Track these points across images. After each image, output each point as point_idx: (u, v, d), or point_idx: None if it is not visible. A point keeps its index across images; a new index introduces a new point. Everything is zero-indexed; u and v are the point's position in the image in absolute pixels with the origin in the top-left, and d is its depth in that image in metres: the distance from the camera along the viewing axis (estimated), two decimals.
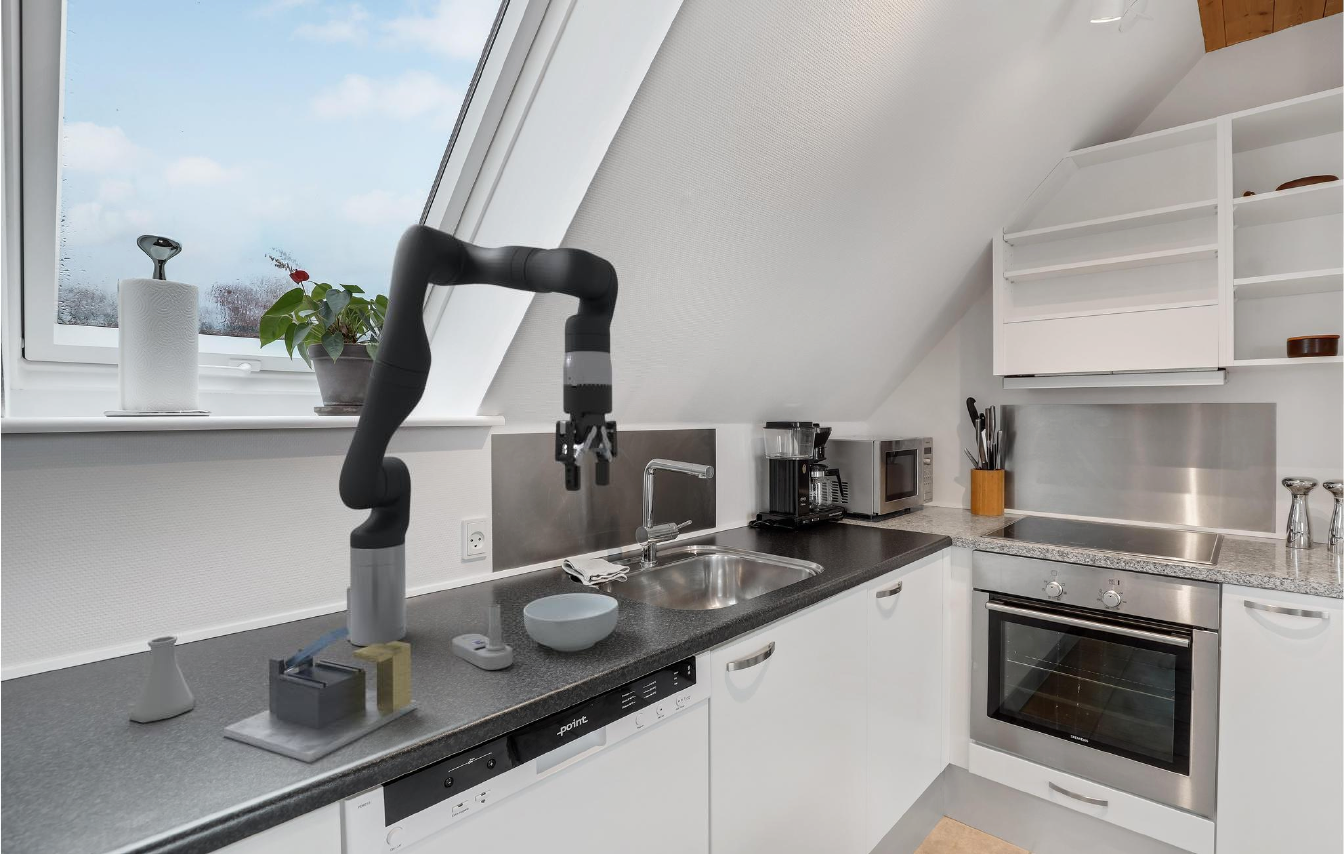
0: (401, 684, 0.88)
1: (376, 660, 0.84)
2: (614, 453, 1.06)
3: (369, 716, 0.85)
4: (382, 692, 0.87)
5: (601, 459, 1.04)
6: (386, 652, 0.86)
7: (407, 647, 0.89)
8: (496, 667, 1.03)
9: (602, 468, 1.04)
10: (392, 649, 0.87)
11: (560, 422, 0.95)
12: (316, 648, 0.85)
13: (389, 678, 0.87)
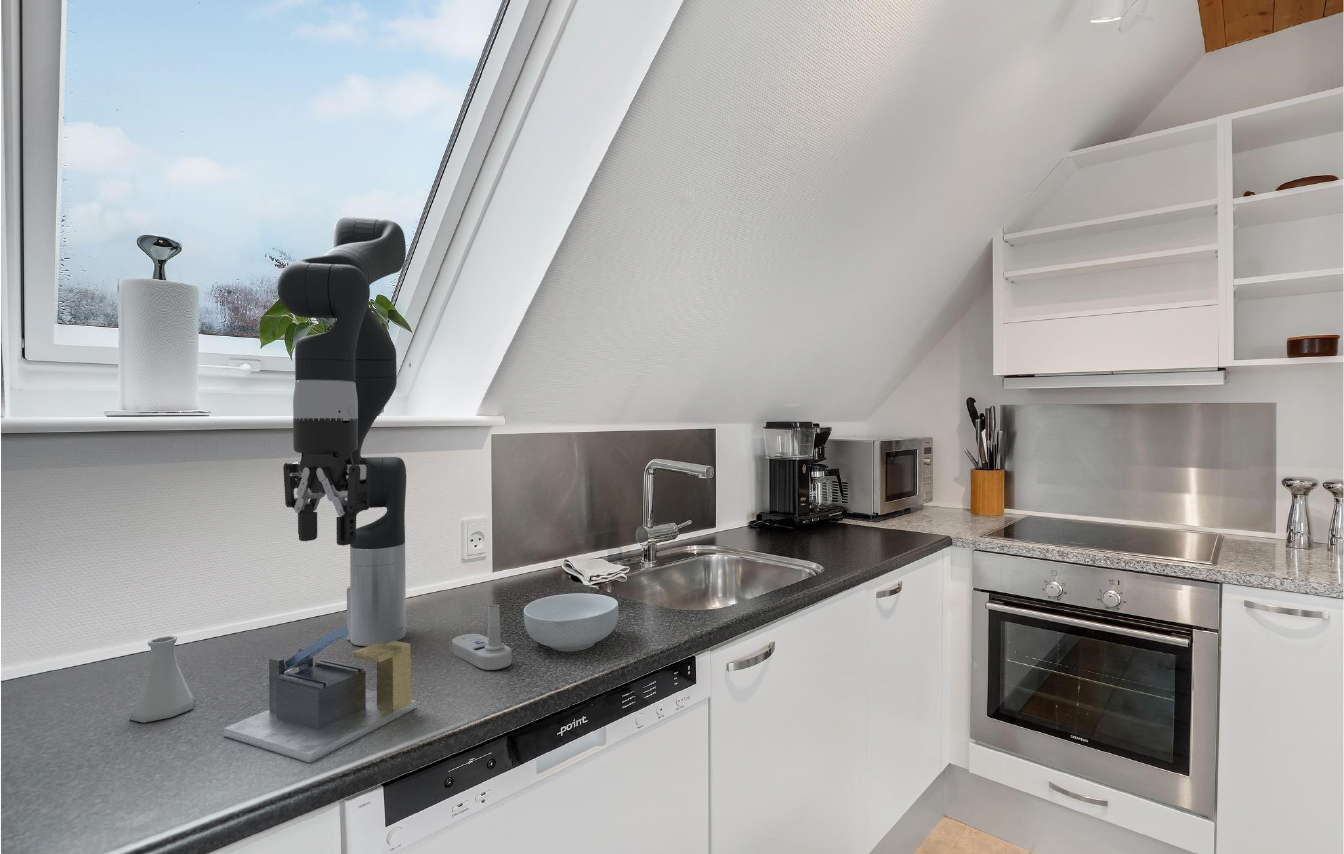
0: (401, 684, 0.88)
1: (376, 660, 0.84)
2: None
3: (369, 716, 0.85)
4: (382, 692, 0.87)
5: (308, 509, 0.87)
6: (386, 652, 0.86)
7: (407, 647, 0.89)
8: (495, 667, 1.03)
9: (311, 519, 0.87)
10: (392, 649, 0.87)
11: (359, 467, 0.82)
12: (316, 648, 0.85)
13: (389, 678, 0.87)
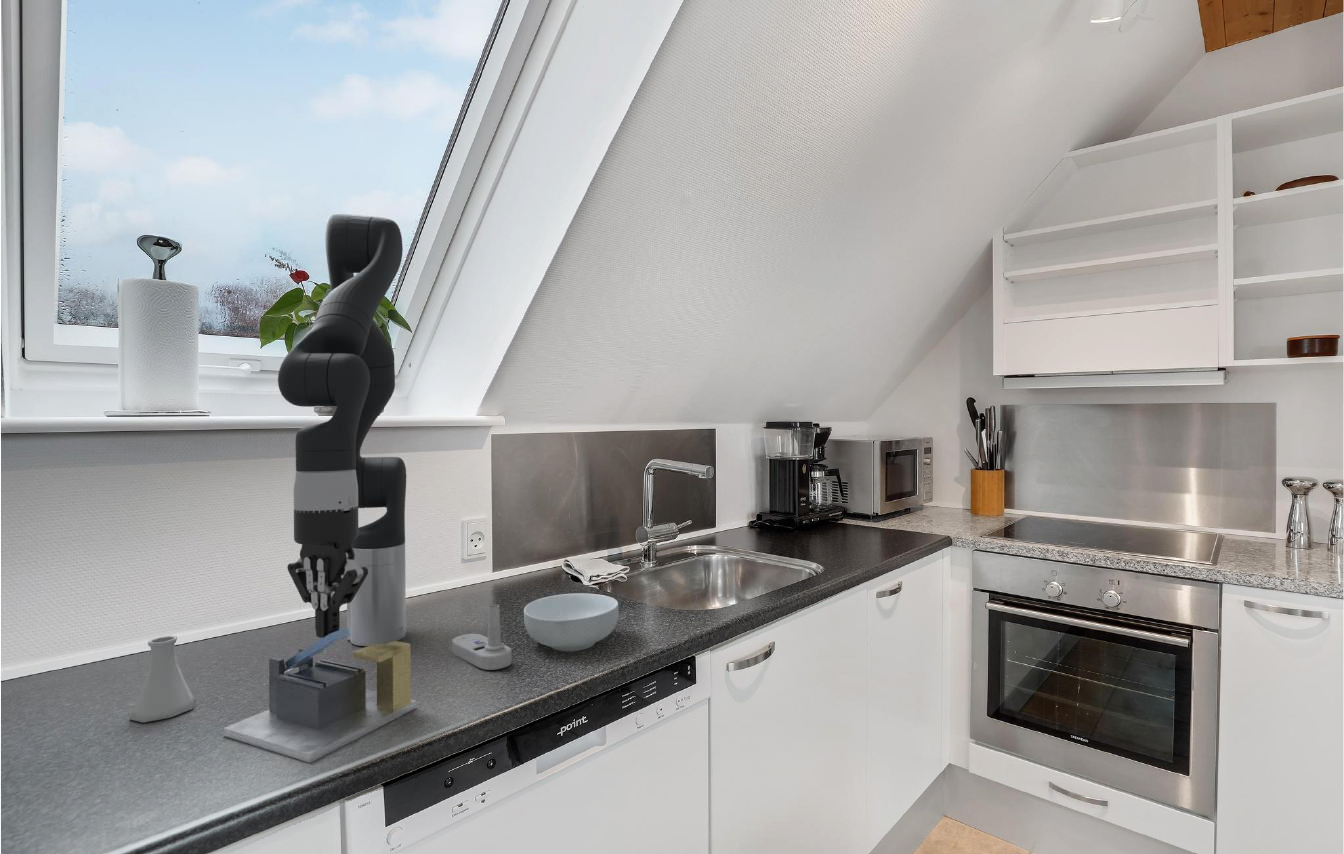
0: (401, 684, 0.88)
1: (376, 660, 0.84)
2: None
3: (369, 716, 0.85)
4: (382, 692, 0.87)
5: None
6: (386, 652, 0.86)
7: (407, 647, 0.89)
8: (495, 667, 1.03)
9: None
10: (392, 649, 0.87)
11: (356, 575, 0.83)
12: (316, 649, 0.85)
13: (389, 678, 0.87)
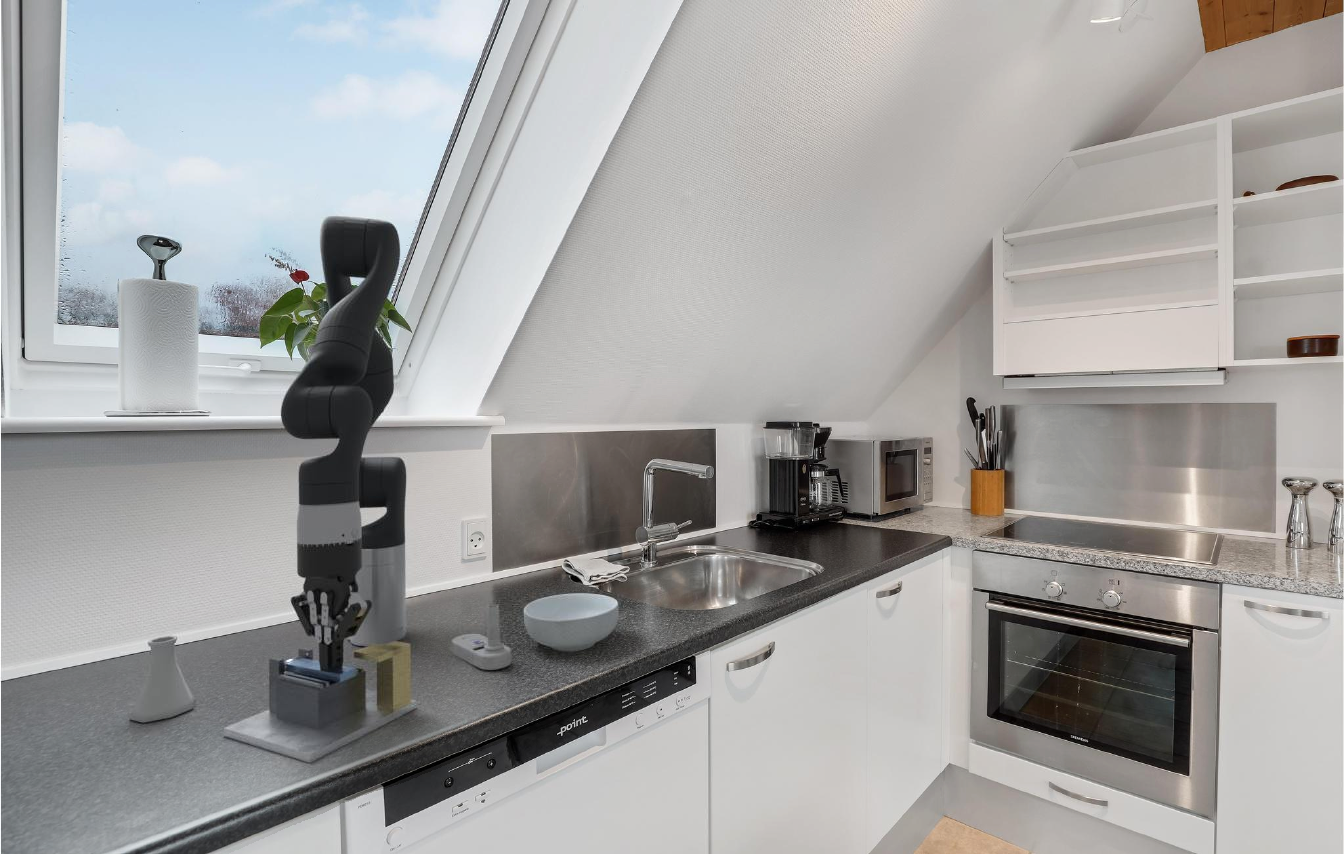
0: (401, 684, 0.88)
1: (376, 660, 0.84)
2: None
3: (369, 716, 0.85)
4: (382, 692, 0.87)
5: None
6: (386, 652, 0.86)
7: (407, 647, 0.89)
8: (494, 667, 1.03)
9: None
10: (392, 649, 0.87)
11: (360, 608, 0.82)
12: (321, 677, 0.84)
13: (389, 678, 0.87)
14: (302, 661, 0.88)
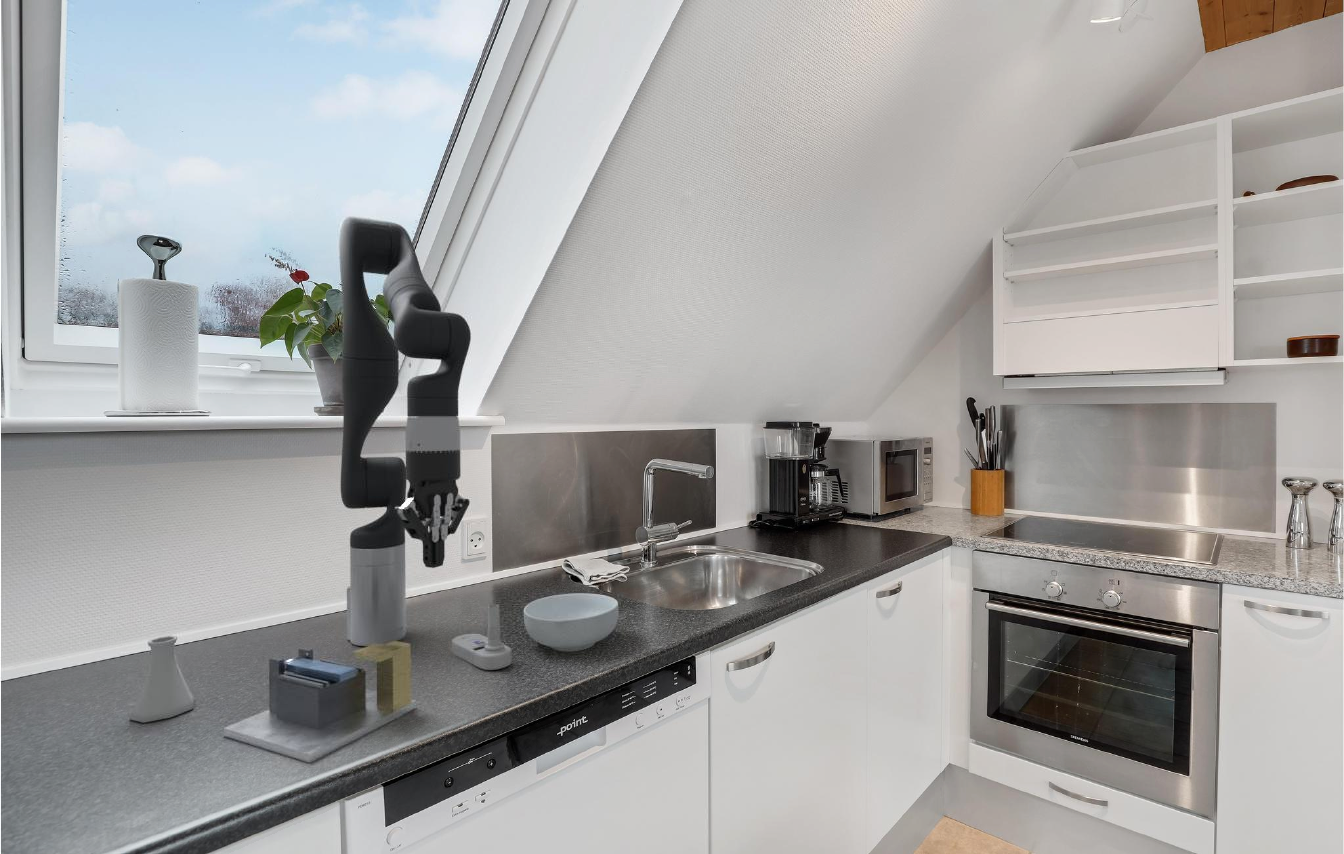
0: (401, 684, 0.88)
1: (376, 660, 0.84)
2: None
3: (369, 716, 0.85)
4: (382, 692, 0.87)
5: None
6: (386, 652, 0.86)
7: (407, 647, 0.89)
8: (495, 667, 1.03)
9: None
10: (392, 649, 0.87)
11: None
12: (321, 677, 0.84)
13: (389, 678, 0.87)
14: (302, 661, 0.88)
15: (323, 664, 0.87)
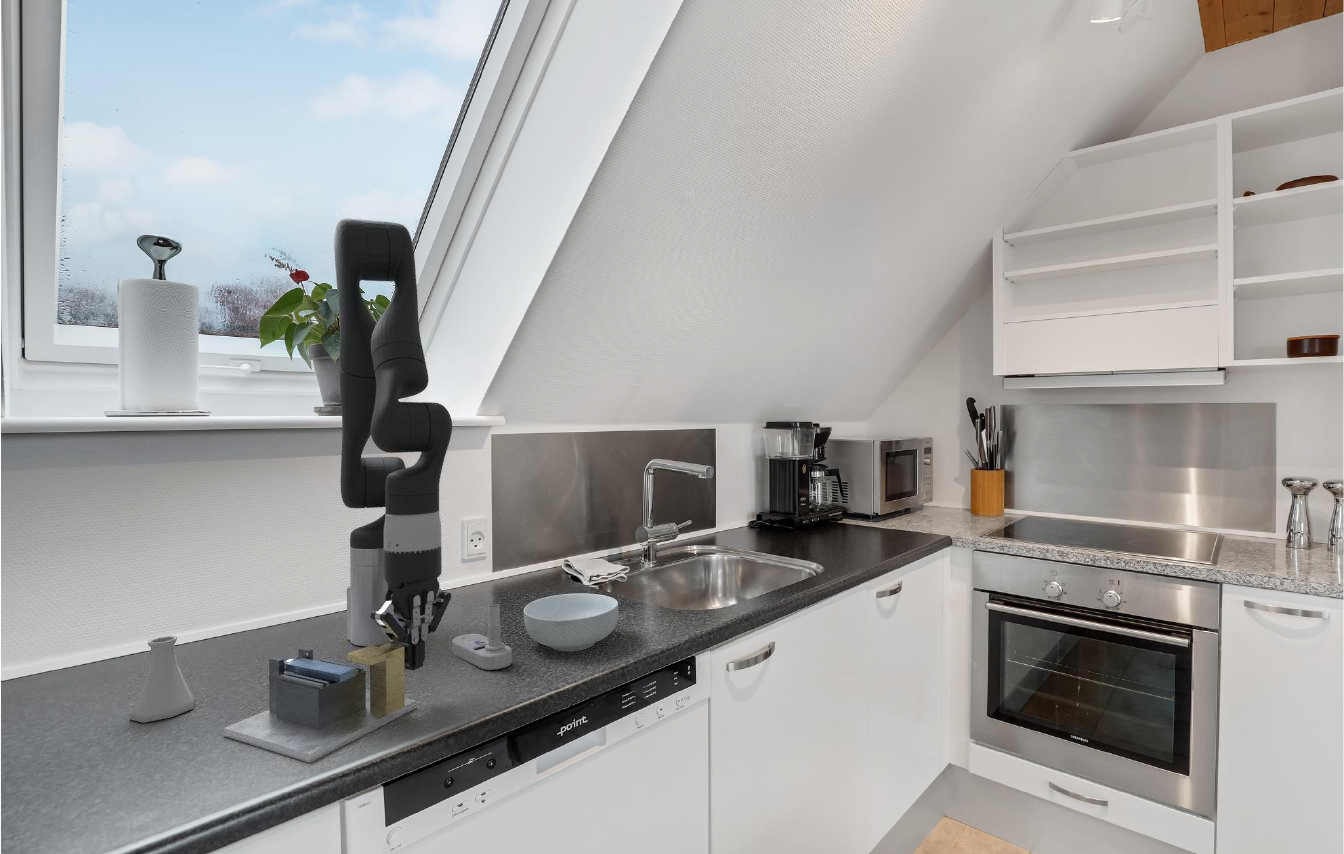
0: (395, 687, 0.87)
1: (369, 663, 0.83)
2: None
3: (369, 716, 0.85)
4: (376, 695, 0.86)
5: None
6: (379, 655, 0.85)
7: (401, 649, 0.88)
8: (495, 667, 1.03)
9: None
10: (385, 651, 0.86)
11: None
12: (321, 677, 0.84)
13: (382, 681, 0.86)
14: (302, 661, 0.88)
15: (323, 664, 0.87)
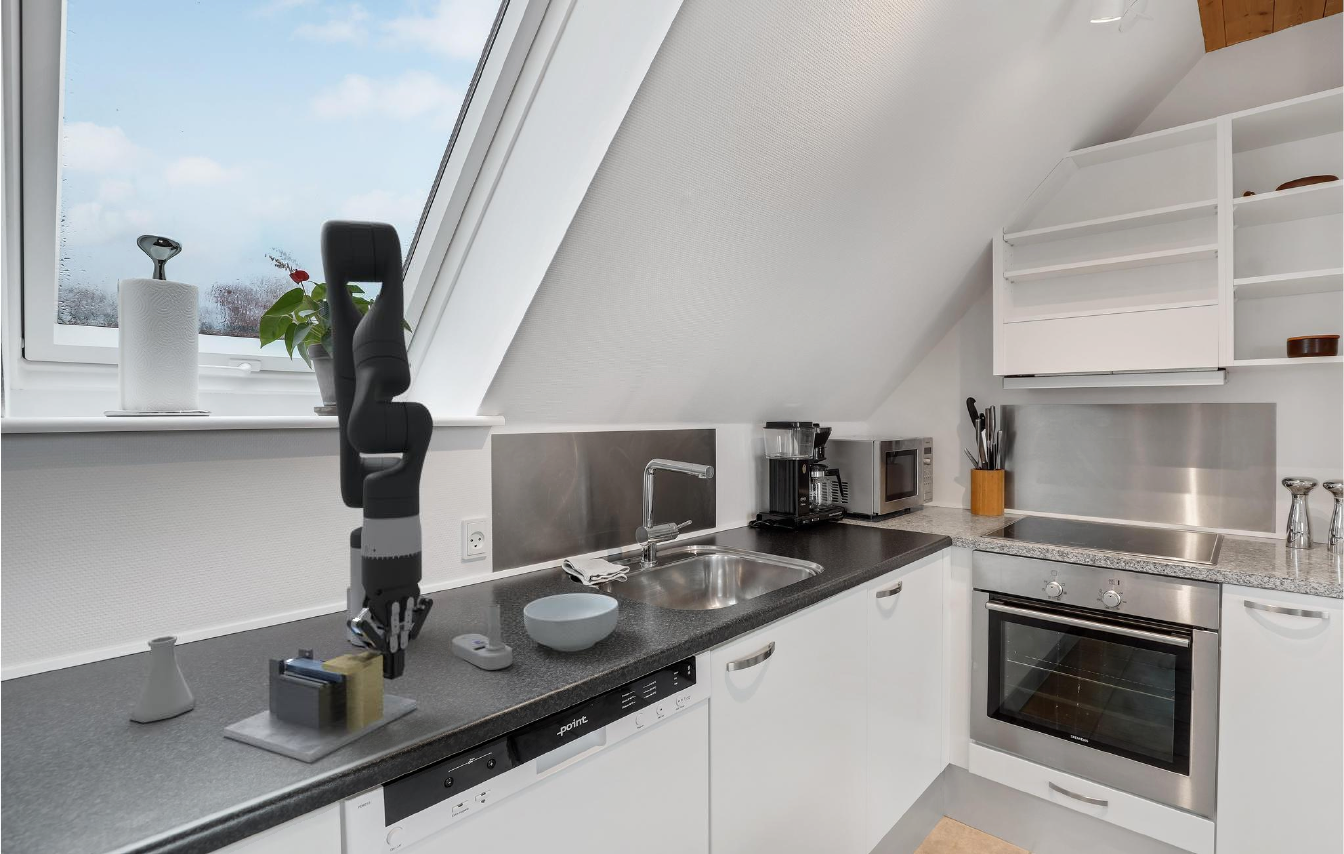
0: (372, 697, 0.83)
1: (345, 673, 0.80)
2: None
3: None
4: (352, 706, 0.83)
5: None
6: (356, 664, 0.81)
7: (379, 658, 0.84)
8: (496, 667, 1.03)
9: None
10: (362, 660, 0.83)
11: None
12: (321, 677, 0.84)
13: (359, 691, 0.82)
14: (302, 661, 0.88)
15: None
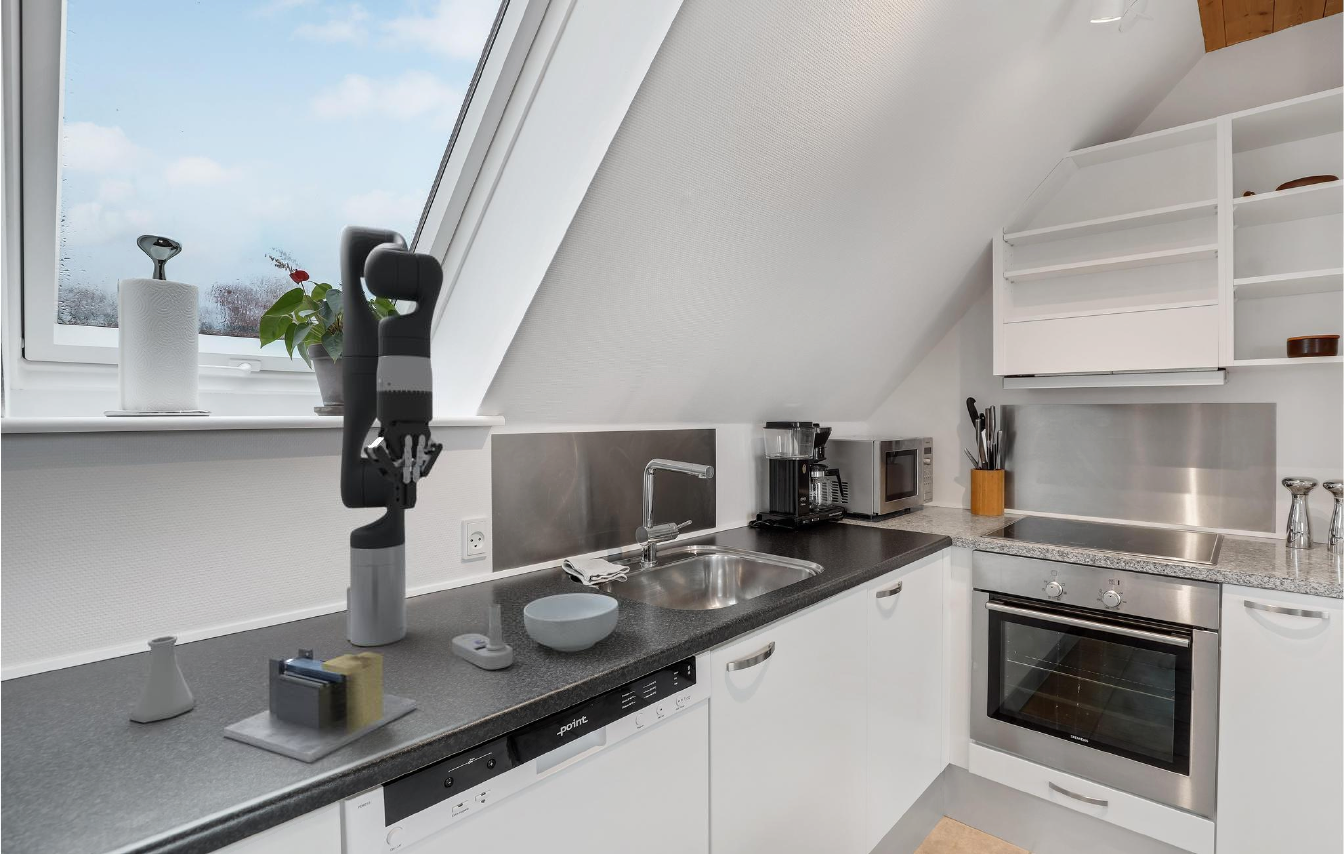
0: (372, 697, 0.83)
1: (345, 673, 0.80)
2: None
3: None
4: (352, 706, 0.83)
5: None
6: (356, 664, 0.81)
7: (379, 658, 0.84)
8: (496, 667, 1.03)
9: None
10: (362, 660, 0.83)
11: None
12: (321, 677, 0.84)
13: (359, 691, 0.82)
14: (302, 661, 0.88)
15: None
